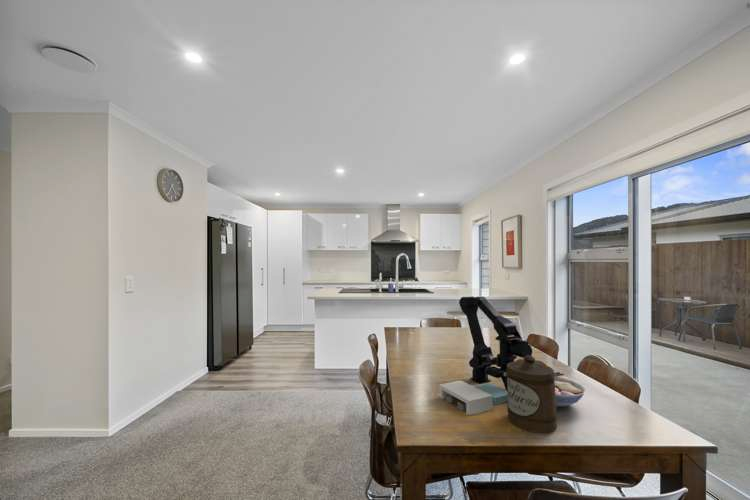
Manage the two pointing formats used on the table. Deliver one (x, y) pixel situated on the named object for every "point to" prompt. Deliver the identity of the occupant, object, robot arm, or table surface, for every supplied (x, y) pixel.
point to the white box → (466, 397)
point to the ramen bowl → (567, 390)
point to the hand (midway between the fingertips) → (507, 390)
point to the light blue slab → (494, 393)
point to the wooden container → (531, 396)
